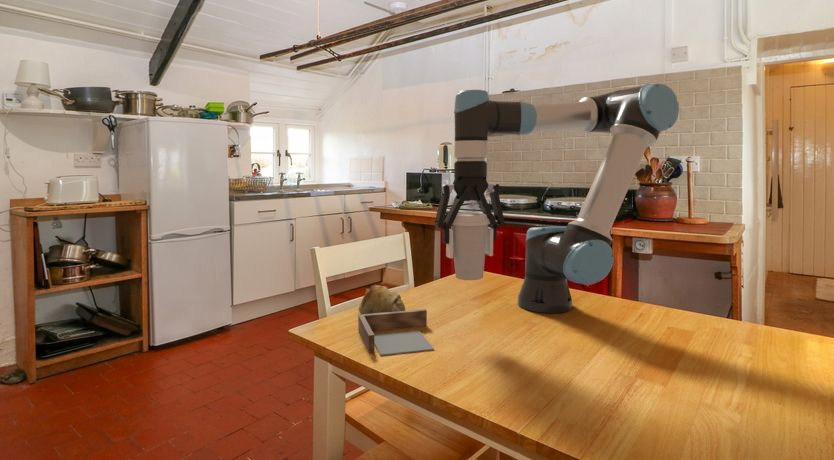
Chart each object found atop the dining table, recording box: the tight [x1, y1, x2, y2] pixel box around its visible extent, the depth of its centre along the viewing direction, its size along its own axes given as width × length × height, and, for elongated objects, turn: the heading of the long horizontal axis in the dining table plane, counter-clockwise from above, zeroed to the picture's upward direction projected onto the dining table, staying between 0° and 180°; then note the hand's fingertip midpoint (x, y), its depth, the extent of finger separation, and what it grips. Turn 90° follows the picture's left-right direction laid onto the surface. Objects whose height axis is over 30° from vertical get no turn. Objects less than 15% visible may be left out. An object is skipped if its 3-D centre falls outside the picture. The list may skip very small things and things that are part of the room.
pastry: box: [357, 284, 406, 315], centre depth 130 cm, size 14×12×8 cm
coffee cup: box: [450, 211, 490, 281], centre depth 112 cm, size 10×10×15 cm
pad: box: [374, 329, 435, 357], centre depth 108 cm, size 12×12×1 cm
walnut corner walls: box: [357, 308, 428, 354], centre depth 111 cm, size 17×15×4 cm
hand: (469, 256), depth 112 cm, fingers closed on coffee cup, 9 cm apart
